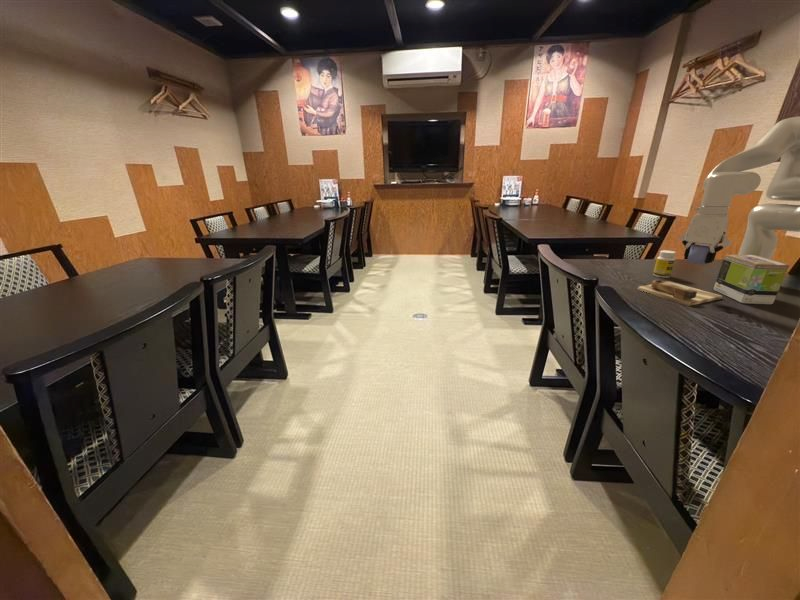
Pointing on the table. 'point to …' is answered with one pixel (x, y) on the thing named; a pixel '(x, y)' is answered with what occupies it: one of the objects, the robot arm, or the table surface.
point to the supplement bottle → (664, 264)
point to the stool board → (682, 294)
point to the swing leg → (672, 288)
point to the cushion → (698, 254)
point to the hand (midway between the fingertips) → (697, 260)
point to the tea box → (750, 278)
